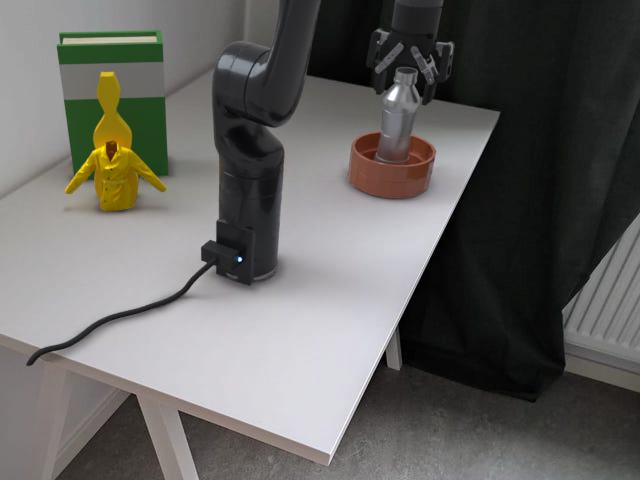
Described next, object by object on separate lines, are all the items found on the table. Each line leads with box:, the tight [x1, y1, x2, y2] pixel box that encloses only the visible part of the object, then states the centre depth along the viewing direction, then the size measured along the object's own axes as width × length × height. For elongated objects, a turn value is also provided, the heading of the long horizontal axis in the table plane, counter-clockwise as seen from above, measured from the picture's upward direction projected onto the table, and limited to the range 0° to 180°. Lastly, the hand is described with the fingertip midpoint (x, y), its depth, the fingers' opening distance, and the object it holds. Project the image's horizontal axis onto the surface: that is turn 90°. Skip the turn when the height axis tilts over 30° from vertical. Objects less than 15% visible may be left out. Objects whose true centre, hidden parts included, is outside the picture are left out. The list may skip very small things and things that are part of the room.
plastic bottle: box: [374, 66, 421, 165], centre depth 129 cm, size 6×7×20 cm
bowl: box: [347, 130, 437, 199], centre depth 134 cm, size 15×15×6 cm
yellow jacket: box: [64, 72, 168, 212], centre depth 121 cm, size 18×8×22 cm, turn 93°
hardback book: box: [56, 29, 169, 180], centre depth 131 cm, size 18×7×24 cm, turn 96°
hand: (402, 98), depth 126 cm, fingers open, 8 cm apart
